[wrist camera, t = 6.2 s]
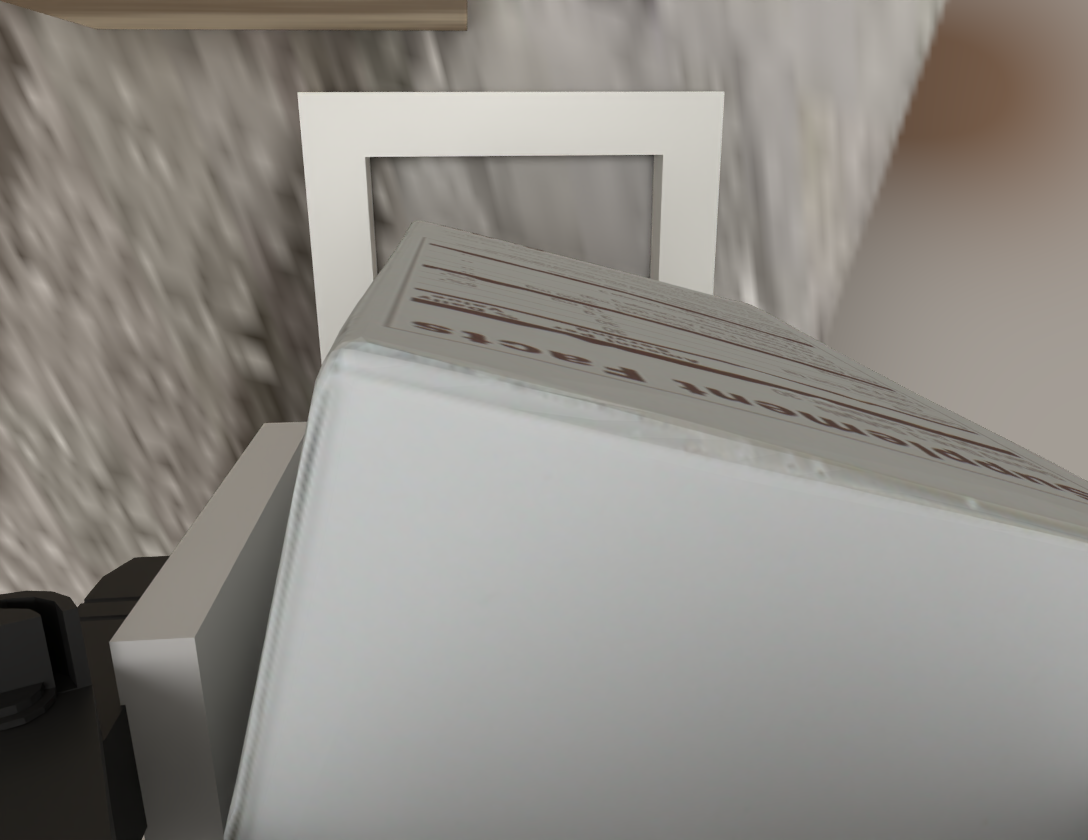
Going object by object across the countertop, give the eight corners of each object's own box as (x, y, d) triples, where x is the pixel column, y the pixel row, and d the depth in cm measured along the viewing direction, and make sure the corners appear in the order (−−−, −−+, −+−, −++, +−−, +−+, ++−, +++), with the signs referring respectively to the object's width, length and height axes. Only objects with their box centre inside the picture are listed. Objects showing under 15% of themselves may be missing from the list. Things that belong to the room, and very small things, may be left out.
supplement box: (652, 602, 20) (938, 1279, 8) (335, 536, 19) (115, 1220, 7) (758, 297, 18) (1346, 593, 6) (412, 201, 17) (292, 334, 5)
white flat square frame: (692, 466, 34) (702, 480, 33) (338, 479, 33) (333, 494, 32) (712, 93, 30) (724, 91, 29) (305, 94, 29) (297, 92, 28)
